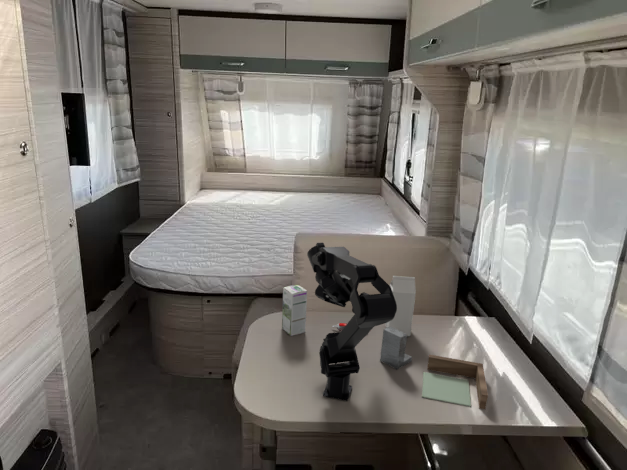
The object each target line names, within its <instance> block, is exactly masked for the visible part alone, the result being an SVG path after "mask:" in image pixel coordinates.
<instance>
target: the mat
mask: <svg viewBox="0 0 627 470" xmlns="http://www.w3.org/2000/svg"><path fill="white" fill-rule="evenodd" d="M421 388H422V389H421V392H422V393H421V398H425V399H429V400H433V401H438V402H439V401H440V402H446V403H450V404H455V405H460V406H466V407H471V406H472V404H471V403H472V402H471V395H470V394H471V393H470V383H469V379H466V378H460V377H454V376H449V375H444V374H437V373H433V372H426V371H423V375H422V387H421Z"/></svg>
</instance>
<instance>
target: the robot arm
mask: <svg viewBox="0 0 627 470" xmlns="http://www.w3.org/2000/svg"><path fill="white" fill-rule="evenodd" d="M306 256H307V258H308V261H309V263H310V266H311V268H312V271H313V273H315V281H316V282H317V283H318V285H317V287H316V288H315V290H314V295H315V296H316V298H318V299H320V300H322V301H324V302H327V303H329V304H333V305H335V306H339V307H342V308H346V306H347V303H348V302H351V307H352V309H351V311H352V313H353V314H354V315H352V317H351V318H350V320H349V321H348V322H347V323H346V324H347V325H346V326H345V327H344V328H343V330H342V331H341V330H340V331H337V332H336V331H335V332H329V333H327V334H326V335H325V338H323V341H322V343H321V345H320V348H319V352H318V353H319V366H320V373H321V375H325V376H326V385H325V387H324V390H323V392H322V396H323V397H325V398H329V399H335V400H339V401H345V402H348V401H349V398H350V396H351V393H352V389H353V386H352V385H351V384H350V382H351V375H352V374H359V371H360V364H359V363H360V362H359V360H358V359H359V358H358V354H357V350H356V347H357V346H358V345H359V344H360V342H361V341H362V340H363V339H364V338H365V337H366V336H367V335H368V334H369V333H370V332H371V330H372V329H373V328H375V327H377V326H380V325H383V324H384V325H385V324H386V323H387V322H389V321H391V320H393V318H394V317H395V314H396V312H397V304H396V301H395V298H394V295H393V293H392V290H391V287H390V284H388V282H386V280H384V279H383V278H382V277H381V275H379V272H378V271H379V270H378V268H377V266H376V265H375V264H371V263H367V262H365V261H363V260H360V259H358V258H356V257H354V256H352V255H350V250H348V249H347V248H346V247H345V246H326V245H325V243H324V242H316V244H315V245H314V246H312V247H311V248H309V250H308V251H307V255H306ZM366 283H367V284H368V283H370V284H371V286H373V287H374V288H375V289H376V290H377V291H378V293H372V294H371V293H367V292H365V291H364V292H361V293H360V294H359V292H358V287H359V284H366Z"/></svg>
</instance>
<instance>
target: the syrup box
mask: <svg viewBox="0 0 627 470" xmlns="http://www.w3.org/2000/svg"><path fill="white" fill-rule="evenodd" d="M307 300H308V290H307V289H305V287H302V286H301V285H299V284H293V285H288V286H285V287H283V289H282V312H281V313H282V314H281V315H282V316H281V317H282V318H281V330H283V331H284V332H285V333H286V334H288V335H289V336H291V337H292V336H297V335H300V334H304V333H306V327H307V326H306V325H307V324H306V323H307V322H306V321H307V306H308V304H307V302H308V301H307Z"/></svg>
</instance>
